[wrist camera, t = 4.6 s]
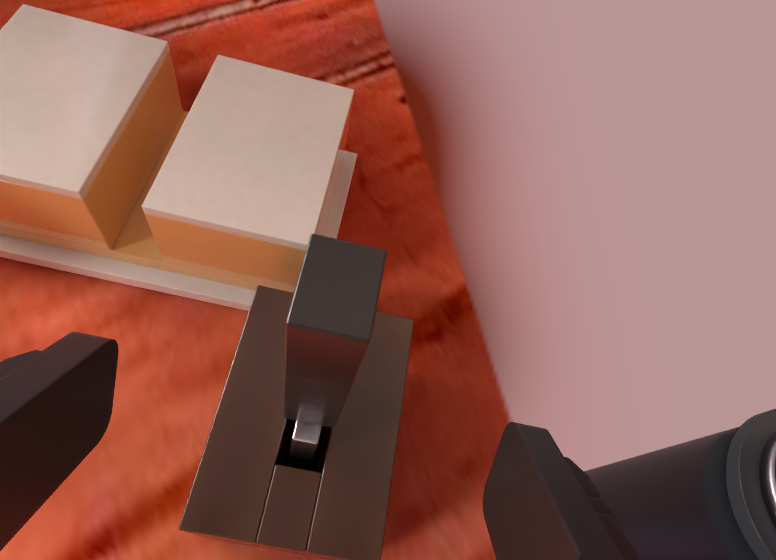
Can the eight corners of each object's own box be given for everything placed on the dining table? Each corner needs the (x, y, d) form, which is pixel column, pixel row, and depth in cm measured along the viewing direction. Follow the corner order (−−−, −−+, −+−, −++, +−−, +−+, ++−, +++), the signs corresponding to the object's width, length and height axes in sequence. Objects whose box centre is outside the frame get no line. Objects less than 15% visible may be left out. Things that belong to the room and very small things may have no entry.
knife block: (389, 364, 32) (414, 319, 26) (357, 564, 26) (380, 565, 20) (261, 337, 31) (257, 284, 25) (201, 536, 26) (177, 529, 20)
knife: (330, 410, 30) (391, 227, 13) (315, 482, 28) (365, 371, 11) (296, 403, 30) (317, 209, 13) (278, 474, 28) (277, 352, 11)
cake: (355, 162, 39) (371, 82, 33) (315, 325, 32) (324, 266, 26) (62, 89, 37) (15, -11, 31) (-49, 246, 30) (-141, 160, 24)
